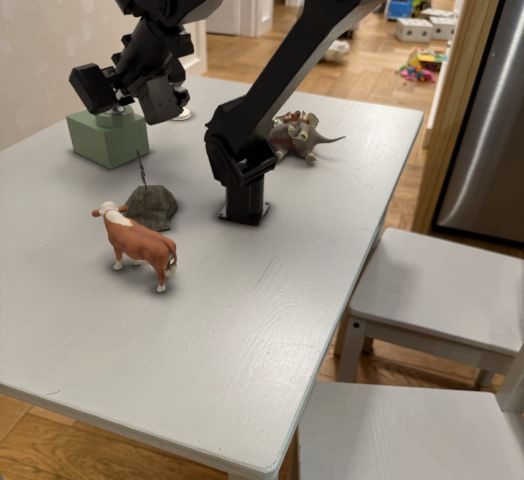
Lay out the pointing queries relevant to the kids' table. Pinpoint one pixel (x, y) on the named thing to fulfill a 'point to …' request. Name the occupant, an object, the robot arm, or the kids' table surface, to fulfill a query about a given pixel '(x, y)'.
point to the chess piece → (183, 114)
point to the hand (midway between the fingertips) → (112, 107)
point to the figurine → (297, 135)
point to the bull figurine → (138, 242)
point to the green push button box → (109, 136)
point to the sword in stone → (150, 204)
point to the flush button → (115, 111)
